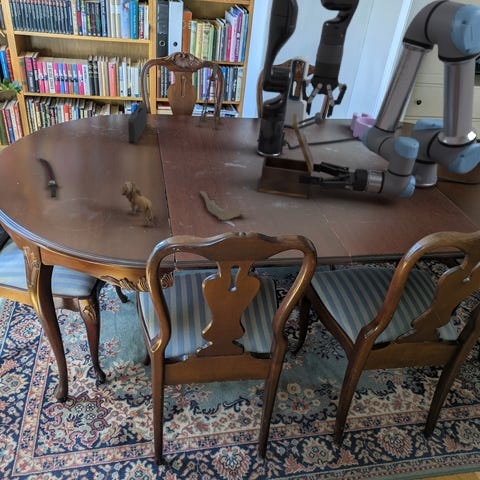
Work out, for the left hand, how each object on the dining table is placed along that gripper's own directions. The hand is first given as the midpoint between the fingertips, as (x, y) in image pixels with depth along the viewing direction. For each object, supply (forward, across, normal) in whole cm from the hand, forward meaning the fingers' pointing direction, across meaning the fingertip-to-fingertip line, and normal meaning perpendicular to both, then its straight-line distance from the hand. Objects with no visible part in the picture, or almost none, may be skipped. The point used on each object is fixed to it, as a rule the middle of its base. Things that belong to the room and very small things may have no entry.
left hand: (318, 115), depth 146 cm
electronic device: (+27, -6, +67) cm, 72 cm away
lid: (+10, -4, 0) cm, 10 cm away
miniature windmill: (+27, -42, +53) cm, 73 cm away
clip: (+27, +28, +67) cm, 78 cm away
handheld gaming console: (+27, -68, +31) cm, 80 cm away
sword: (+26, -84, -16) cm, 89 cm away
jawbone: (+26, -25, -19) cm, 41 cm away
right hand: (+20, -3, 0) cm, 20 cm away
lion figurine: (+26, -48, -32) cm, 64 cm away
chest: (+27, -7, 0) cm, 28 cm away
